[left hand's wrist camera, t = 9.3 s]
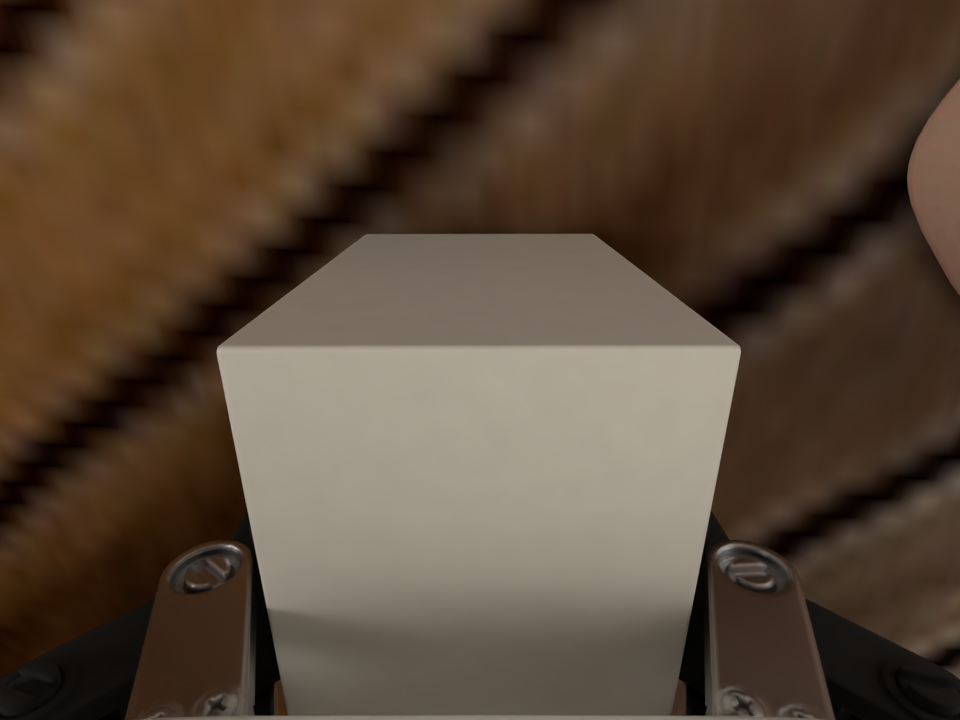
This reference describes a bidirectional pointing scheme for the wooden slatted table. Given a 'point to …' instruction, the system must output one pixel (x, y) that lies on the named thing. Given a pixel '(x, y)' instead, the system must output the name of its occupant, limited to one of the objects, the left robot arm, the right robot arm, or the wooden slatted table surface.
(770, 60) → the wooden slatted table surface
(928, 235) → the anatomical model
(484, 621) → the post
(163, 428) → the wooden slatted table surface
